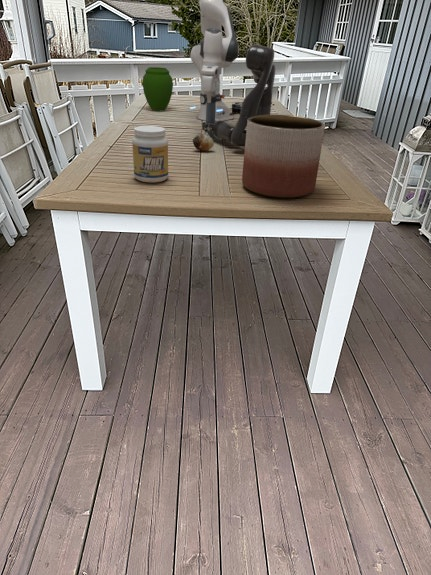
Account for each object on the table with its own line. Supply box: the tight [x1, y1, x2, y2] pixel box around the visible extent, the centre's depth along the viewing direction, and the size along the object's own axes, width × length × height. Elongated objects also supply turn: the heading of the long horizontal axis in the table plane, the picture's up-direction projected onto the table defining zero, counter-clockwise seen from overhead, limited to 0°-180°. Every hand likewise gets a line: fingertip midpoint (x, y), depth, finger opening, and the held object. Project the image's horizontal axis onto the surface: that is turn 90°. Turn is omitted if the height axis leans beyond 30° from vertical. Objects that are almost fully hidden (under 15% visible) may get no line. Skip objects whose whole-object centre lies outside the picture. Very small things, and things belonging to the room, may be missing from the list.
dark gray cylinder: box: [204, 102, 216, 139], centre depth 202 cm, size 5×5×18 cm
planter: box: [241, 114, 326, 199], centre depth 138 cm, size 25×25×22 cm
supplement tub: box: [131, 125, 169, 183], centre depth 142 cm, size 12×12×17 cm
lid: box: [206, 96, 217, 102], centre depth 198 cm, size 6×6×2 cm
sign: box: [231, 101, 243, 115], centre depth 282 cm, size 19×3×30 cm
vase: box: [141, 66, 174, 112], centre depth 261 cm, size 20×20×24 cm
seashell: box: [192, 131, 215, 152], centre depth 181 cm, size 10×6×8 cm, turn 97°
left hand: (211, 101), depth 198 cm, fingers open, 6 cm apart
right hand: (207, 123), depth 206 cm, fingers closed on dark gray cylinder, 4 cm apart
